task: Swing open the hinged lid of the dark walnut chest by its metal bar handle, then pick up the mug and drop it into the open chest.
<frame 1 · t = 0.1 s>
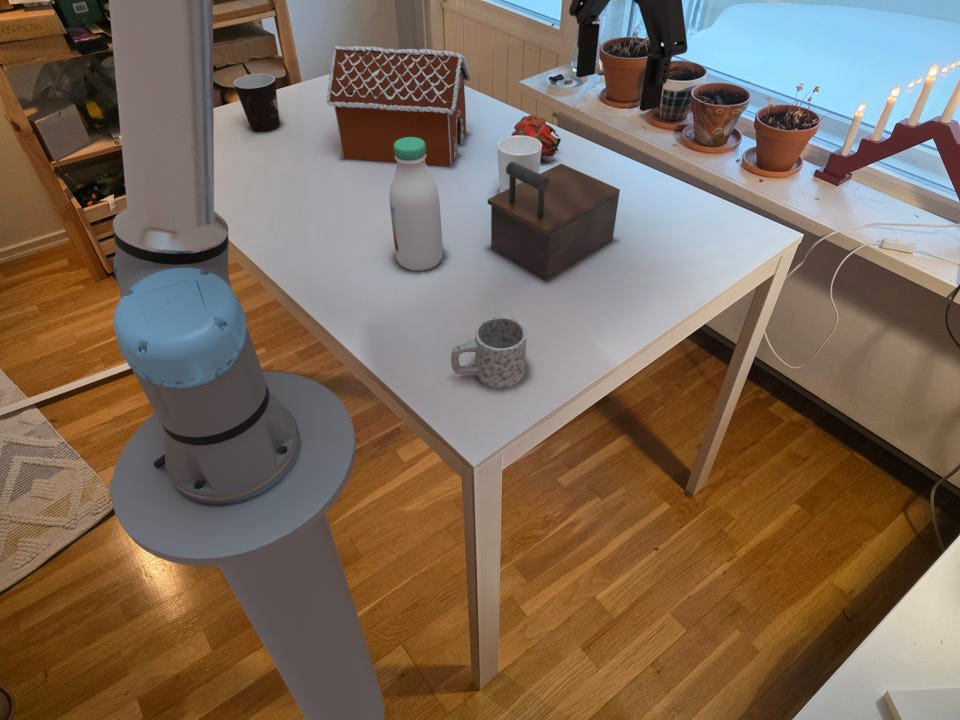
hand: (615, 91, 87), 27 cm above the table, tool pointing down, fingers open, 13 cm apart
gingerbread house: (406, 147, 138), on the table
lid: (555, 177, 101), point 13 cm above the table, hinge at 0.0°
chest: (552, 244, 109), on the table
dragon fruit: (535, 156, 134), on the table
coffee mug: (261, 129, 145), on the table
white cup: (518, 196, 122), on the table
mug: (488, 373, 87), on the table
milk bottle: (419, 259, 107), on the table
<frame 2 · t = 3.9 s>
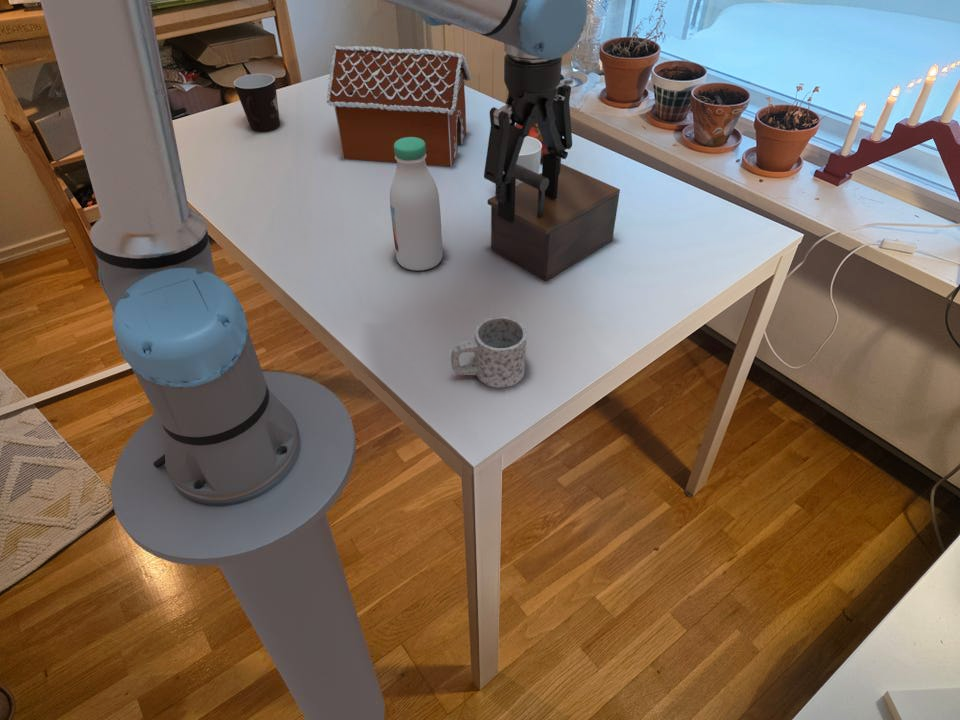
hand: (528, 207, 100), 10 cm above the table, tool pointing down, fingers open, 9 cm apart
lid: (555, 177, 101), point 12 cm above the table, hinge at -0.2°, touching chest, gripper
everything else where it was.
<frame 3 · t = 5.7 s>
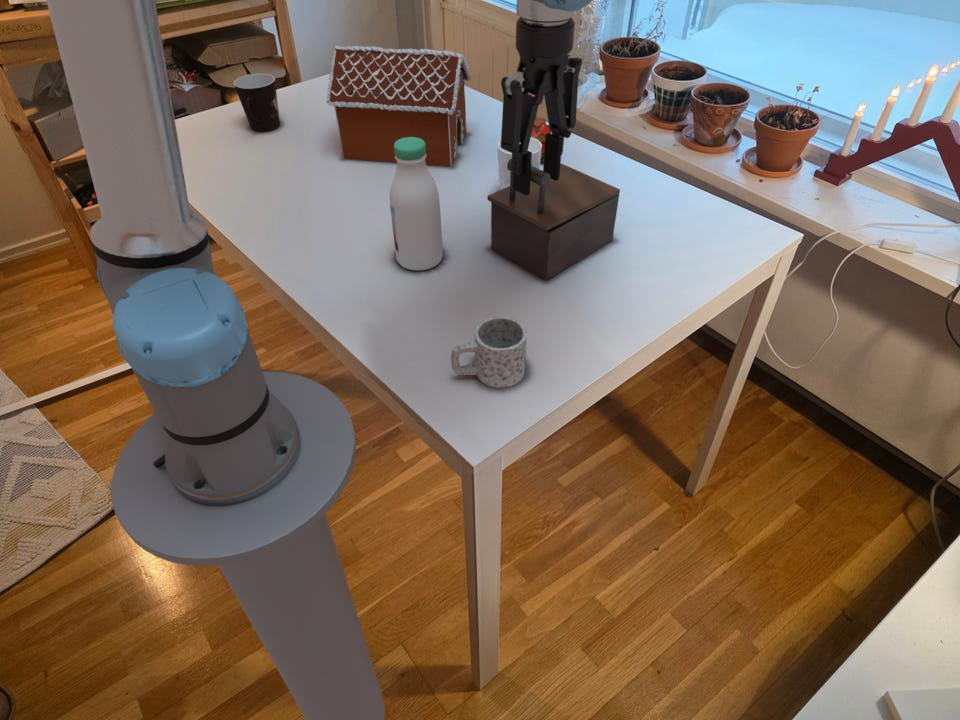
hand: (536, 183, 98), 13 cm above the table, tool pointing down, fingers open, 6 cm apart
lid: (556, 175, 101), point 13 cm above the table, hinge at 2.1°, touching gripper
everything else where it was.
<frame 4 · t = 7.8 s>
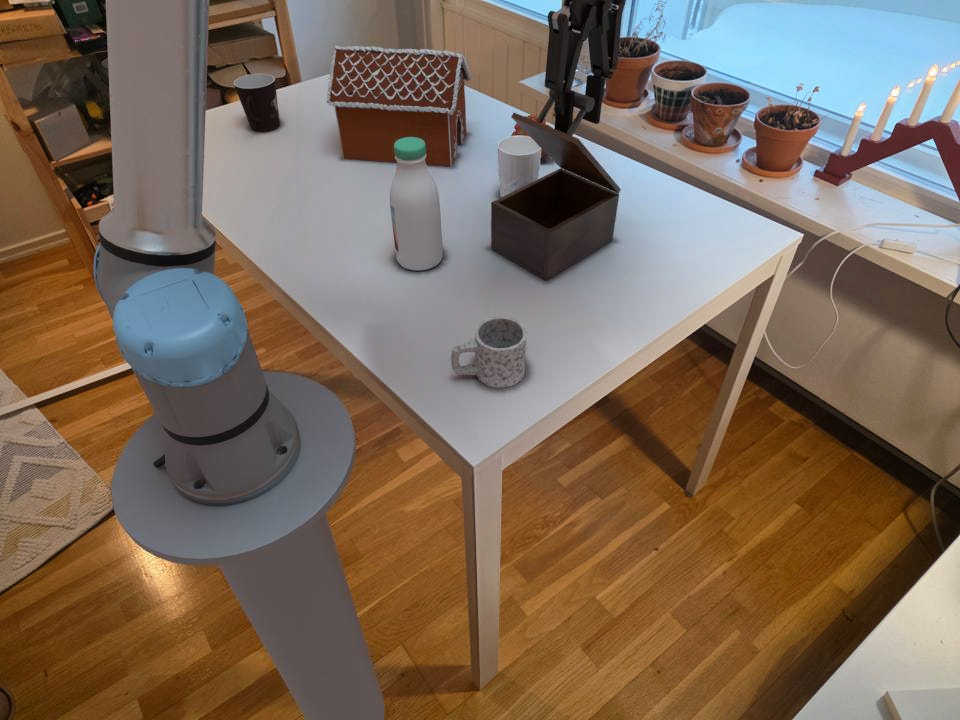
hand: (577, 127, 98), 19 cm above the table, tool pointing down, fingers open, 6 cm apart
lid: (579, 135, 100), point 18 cm above the table, hinge at 45.4°, touching gripper
everything else where it was.
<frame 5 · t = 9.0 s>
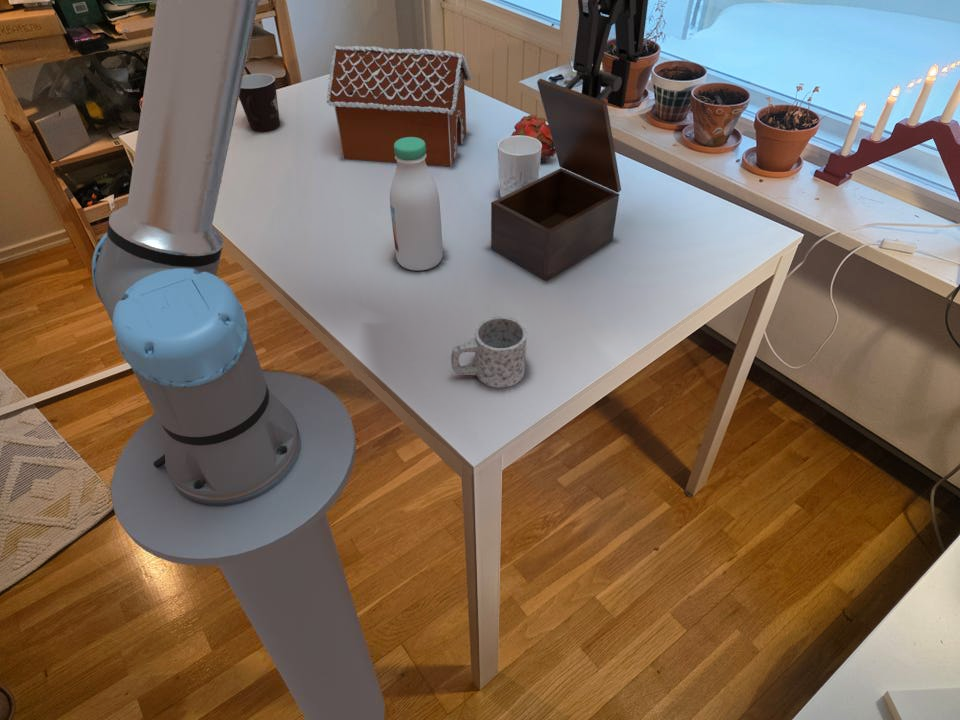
hand: (602, 110, 100), 20 cm above the table, tool pointing down, fingers open, 6 cm apart
lid: (594, 124, 101), point 19 cm above the table, hinge at 67.0°
everything else where it was.
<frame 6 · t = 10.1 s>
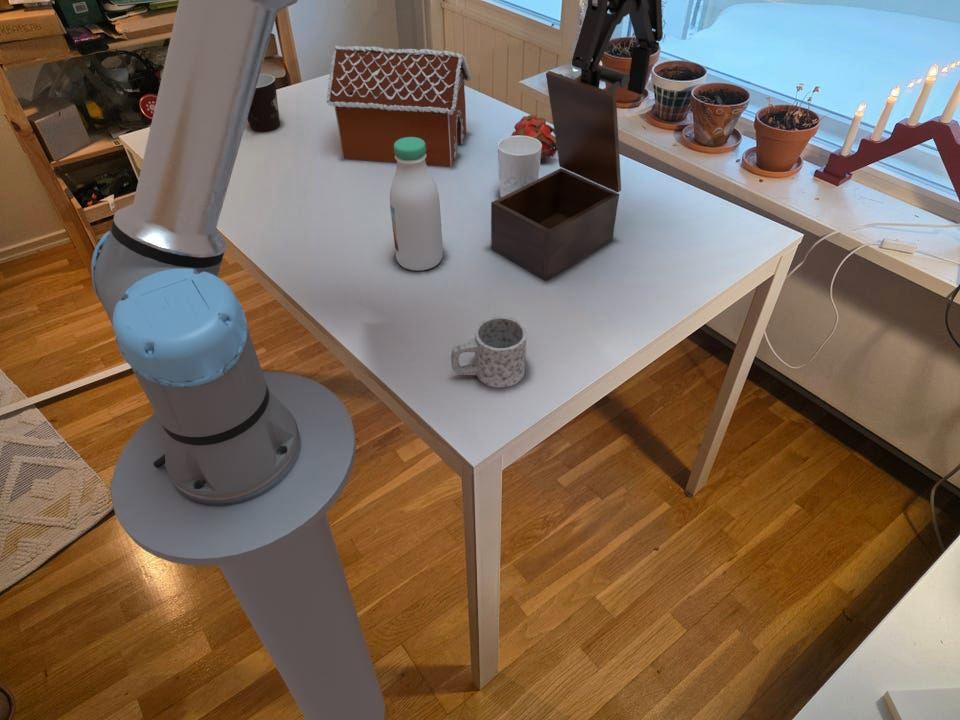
hand: (612, 102, 101), 21 cm above the table, tool pointing down, fingers open, 11 cm apart
lid: (598, 122, 101), point 19 cm above the table, hinge at 73.6°, touching gripper
everything else where it was.
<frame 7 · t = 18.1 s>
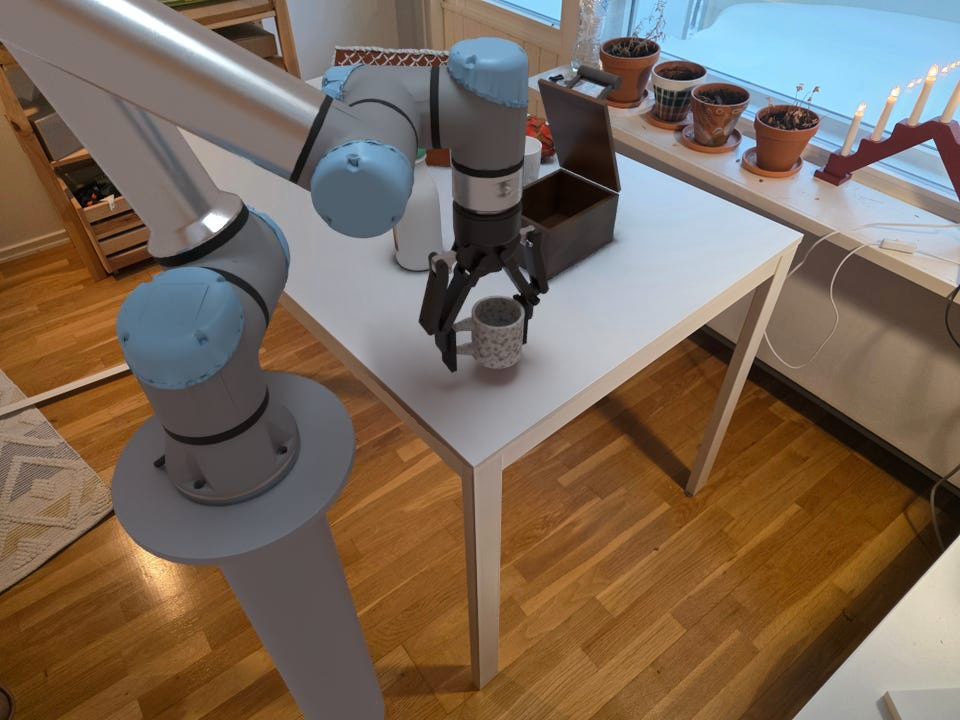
hand: (484, 351, 85), 4 cm above the table, tool pointing down, fingers closed on mug, 10 cm apart
lid: (594, 124, 101), point 19 cm above the table, hinge at 67.2°
mug: (484, 354, 85), point 3 cm above the table, touching gripper
everything else where it was.
when the fingers open (10 cm above the table, at t = 33.2 s): mug drops 9 cm, resting on chest.
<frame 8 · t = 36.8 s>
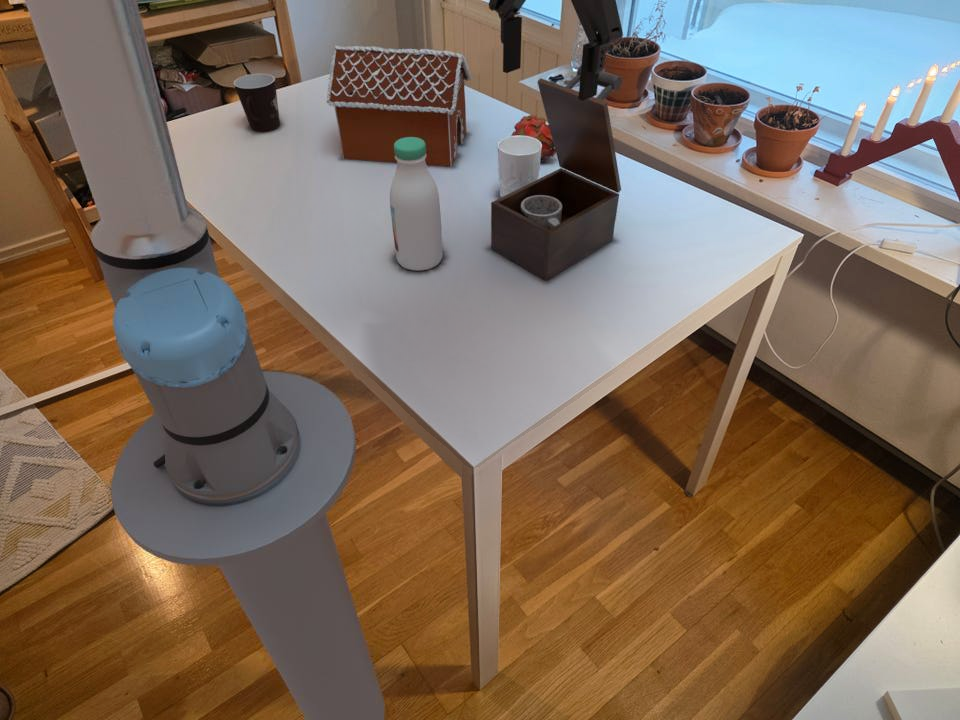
hand: (547, 83, 86), 29 cm above the table, tool pointing down, fingers open, 13 cm apart
mug: (544, 246, 108), point 1 cm above the table, touching chest
everything else where it was.
at the end: lid at +67° (first picture: +0°); mug inside the target area in the chest (2.0 cm from its centre), point 0.6 cm above the chest's base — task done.
